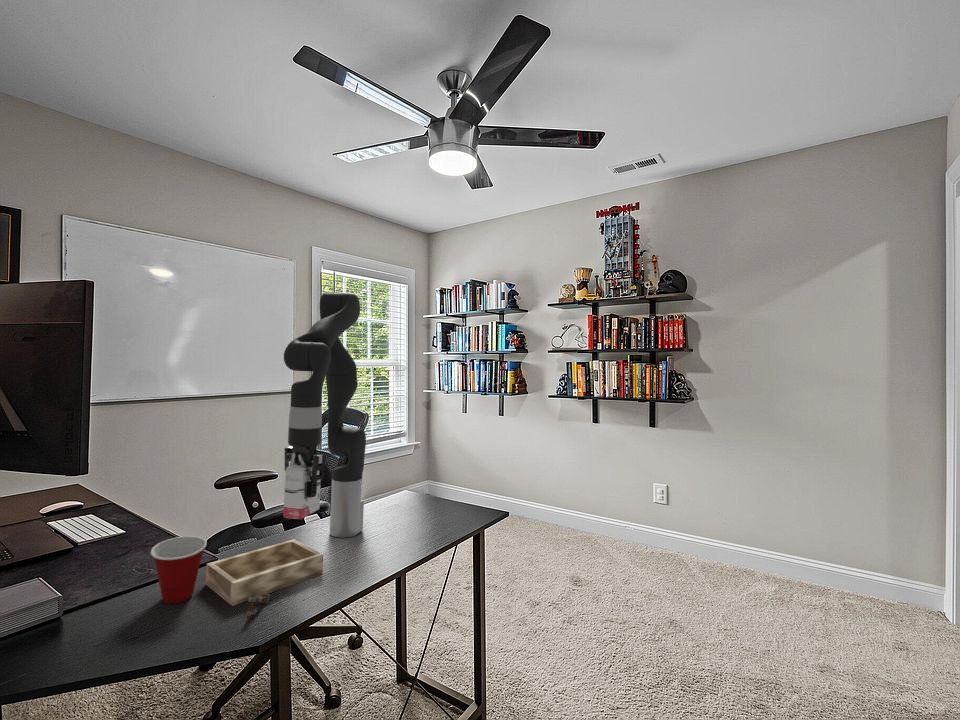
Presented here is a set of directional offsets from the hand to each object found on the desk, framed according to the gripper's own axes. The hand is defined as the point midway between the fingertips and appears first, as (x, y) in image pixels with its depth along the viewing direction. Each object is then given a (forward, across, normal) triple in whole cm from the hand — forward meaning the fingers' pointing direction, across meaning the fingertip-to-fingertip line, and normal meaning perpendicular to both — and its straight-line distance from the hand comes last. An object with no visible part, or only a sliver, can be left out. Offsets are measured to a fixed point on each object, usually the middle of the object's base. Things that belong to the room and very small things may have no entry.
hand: (302, 493), depth 118 cm
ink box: (+5, 0, 0) cm, 5 cm away
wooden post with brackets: (+23, -4, +12) cm, 26 cm away
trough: (+22, +9, +4) cm, 24 cm away
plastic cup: (+23, +14, +22) cm, 34 cm away
